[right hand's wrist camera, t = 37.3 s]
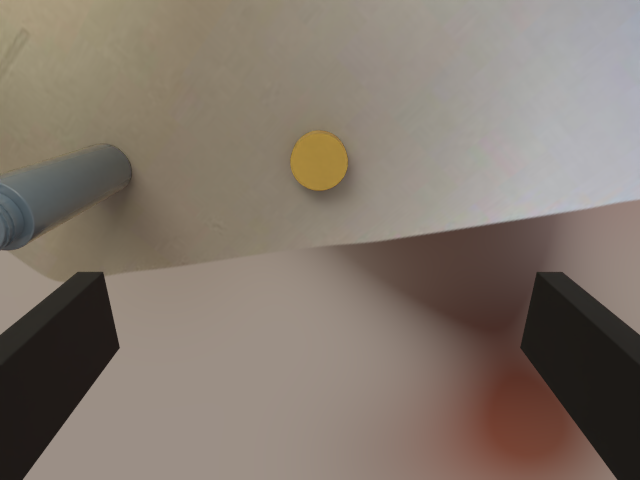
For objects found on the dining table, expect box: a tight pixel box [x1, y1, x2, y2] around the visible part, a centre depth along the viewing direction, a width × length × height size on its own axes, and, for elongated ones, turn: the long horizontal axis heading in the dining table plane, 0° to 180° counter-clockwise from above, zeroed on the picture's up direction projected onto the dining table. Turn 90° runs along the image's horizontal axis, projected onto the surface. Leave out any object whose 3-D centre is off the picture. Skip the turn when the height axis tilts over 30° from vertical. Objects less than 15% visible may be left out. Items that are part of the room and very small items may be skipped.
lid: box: [290, 130, 348, 191], centre depth 36 cm, size 5×5×2 cm
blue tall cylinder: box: [0, 144, 131, 250], centre depth 30 cm, size 4×4×16 cm
